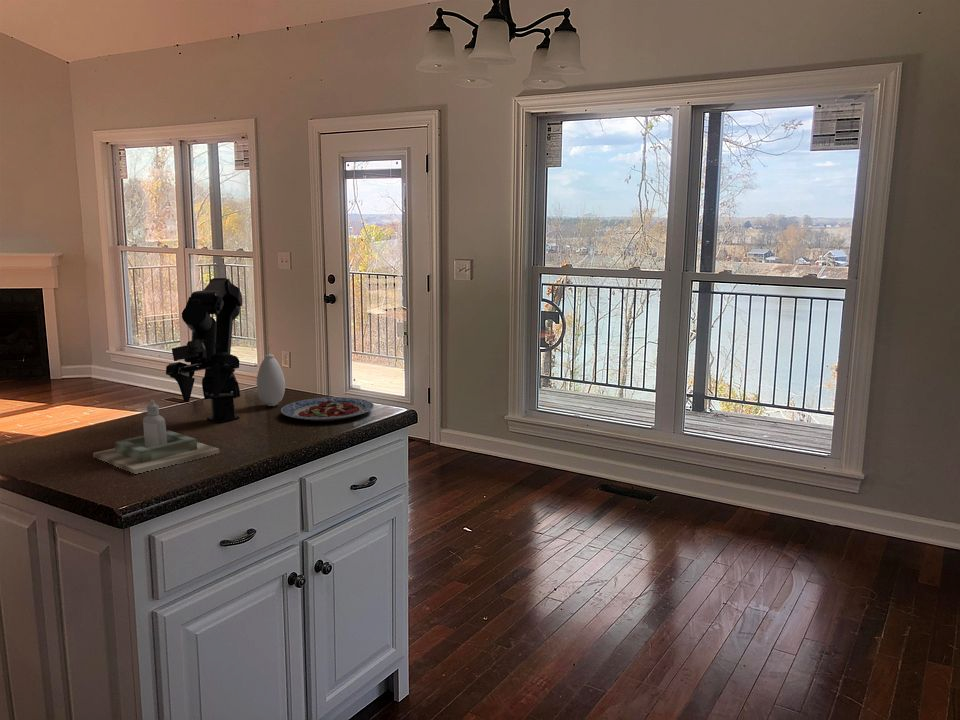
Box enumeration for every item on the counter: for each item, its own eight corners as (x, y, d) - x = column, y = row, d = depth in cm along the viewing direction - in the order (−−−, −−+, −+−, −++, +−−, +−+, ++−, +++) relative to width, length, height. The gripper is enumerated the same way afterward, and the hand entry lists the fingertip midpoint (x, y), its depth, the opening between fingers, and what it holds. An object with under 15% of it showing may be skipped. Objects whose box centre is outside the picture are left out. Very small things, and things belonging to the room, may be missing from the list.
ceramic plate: (320, 401, 234) (319, 391, 233) (391, 409, 223) (391, 399, 222) (261, 420, 211) (260, 409, 211) (337, 430, 200) (337, 419, 199)
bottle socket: (93, 457, 177) (92, 442, 176) (175, 439, 192) (174, 425, 191) (135, 475, 164) (133, 458, 163) (219, 453, 179) (218, 438, 178)
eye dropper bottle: (148, 454, 174) (143, 403, 172) (144, 449, 179) (140, 398, 177) (168, 451, 177) (164, 401, 175) (164, 446, 181) (160, 396, 179)
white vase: (291, 404, 228) (288, 345, 225) (271, 410, 222) (267, 348, 219) (272, 401, 233) (269, 343, 229) (252, 407, 226) (249, 346, 223)
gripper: (150, 337, 189) (146, 398, 184) (210, 323, 182) (207, 386, 177) (184, 348, 199) (180, 407, 194) (241, 335, 192) (239, 396, 187)
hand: (200, 399), depth 188 cm, fingers open, 9 cm apart
